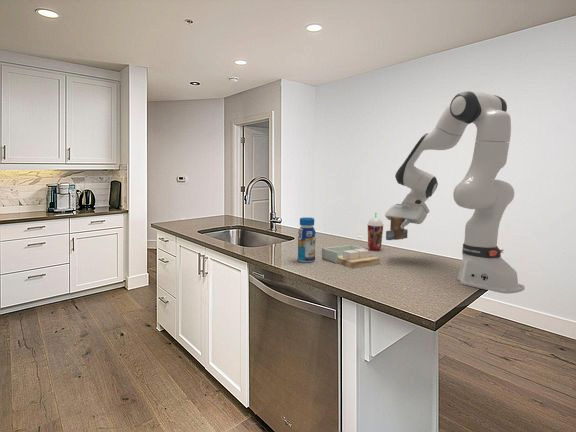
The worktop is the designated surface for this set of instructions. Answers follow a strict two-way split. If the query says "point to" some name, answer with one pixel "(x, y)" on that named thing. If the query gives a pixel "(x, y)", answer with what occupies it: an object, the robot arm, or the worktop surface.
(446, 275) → the worktop surface
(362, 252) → the tile
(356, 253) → the tile
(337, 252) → the tray
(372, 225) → the smoothie
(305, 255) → the beverage bottle
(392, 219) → the stacked block structure
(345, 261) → the board
